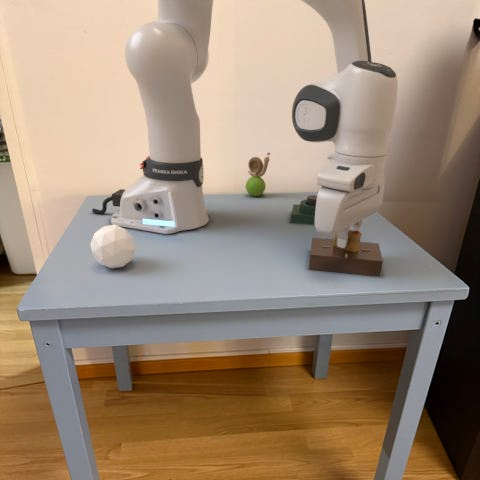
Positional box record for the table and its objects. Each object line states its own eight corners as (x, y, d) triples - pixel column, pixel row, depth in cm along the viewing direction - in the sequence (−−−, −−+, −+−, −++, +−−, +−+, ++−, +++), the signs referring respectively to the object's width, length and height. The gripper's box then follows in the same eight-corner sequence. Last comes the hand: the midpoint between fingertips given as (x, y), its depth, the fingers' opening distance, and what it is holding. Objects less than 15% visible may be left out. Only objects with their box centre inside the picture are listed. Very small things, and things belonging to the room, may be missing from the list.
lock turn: (333, 246, 87) (335, 227, 85) (336, 244, 88) (339, 225, 86) (355, 252, 85) (358, 233, 83) (358, 250, 86) (361, 231, 84)
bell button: (306, 206, 107) (306, 198, 106) (306, 202, 110) (307, 194, 109) (321, 207, 106) (322, 200, 105) (321, 203, 109) (322, 195, 108)
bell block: (290, 223, 107) (291, 206, 105) (293, 212, 114) (294, 197, 112) (333, 226, 106) (335, 209, 104) (333, 215, 113) (335, 200, 111)
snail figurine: (261, 200, 122) (264, 154, 116) (241, 196, 125) (243, 151, 119) (271, 196, 126) (274, 151, 120) (251, 192, 129) (253, 148, 123)
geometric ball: (107, 276, 86) (90, 238, 86) (146, 260, 86) (129, 221, 86) (95, 274, 79) (77, 231, 78) (138, 256, 79) (119, 213, 78)
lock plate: (308, 269, 85) (310, 253, 83) (310, 251, 93) (312, 236, 91) (379, 276, 83) (383, 260, 81) (376, 257, 91) (378, 242, 89)
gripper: (367, 157, 87) (355, 226, 94) (312, 176, 73) (303, 255, 81) (398, 162, 84) (384, 233, 91) (347, 183, 70) (335, 265, 77)
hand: (346, 244), depth 86 cm, fingers closed, pressing on lock turn
